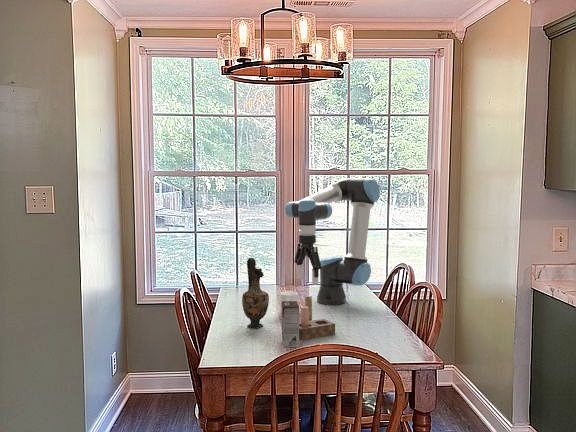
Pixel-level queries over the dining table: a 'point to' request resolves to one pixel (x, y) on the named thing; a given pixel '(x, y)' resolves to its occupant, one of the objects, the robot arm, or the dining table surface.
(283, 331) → the coffee box
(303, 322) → the terracotta peg
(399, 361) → the dining table surface
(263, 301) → the vase
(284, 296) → the mug
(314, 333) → the hole block
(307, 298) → the oak peg
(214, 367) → the dining table surface
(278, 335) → the dining table surface
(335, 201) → the robot arm
